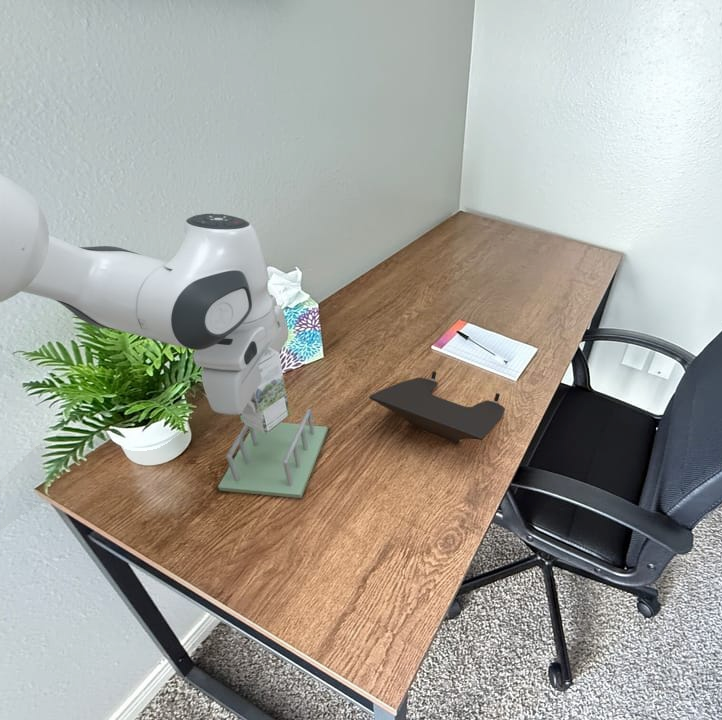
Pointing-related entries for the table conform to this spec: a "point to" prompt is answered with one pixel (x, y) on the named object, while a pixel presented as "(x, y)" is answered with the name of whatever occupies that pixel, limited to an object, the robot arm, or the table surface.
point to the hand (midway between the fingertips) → (261, 393)
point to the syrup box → (269, 395)
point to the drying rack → (274, 459)
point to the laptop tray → (439, 411)
